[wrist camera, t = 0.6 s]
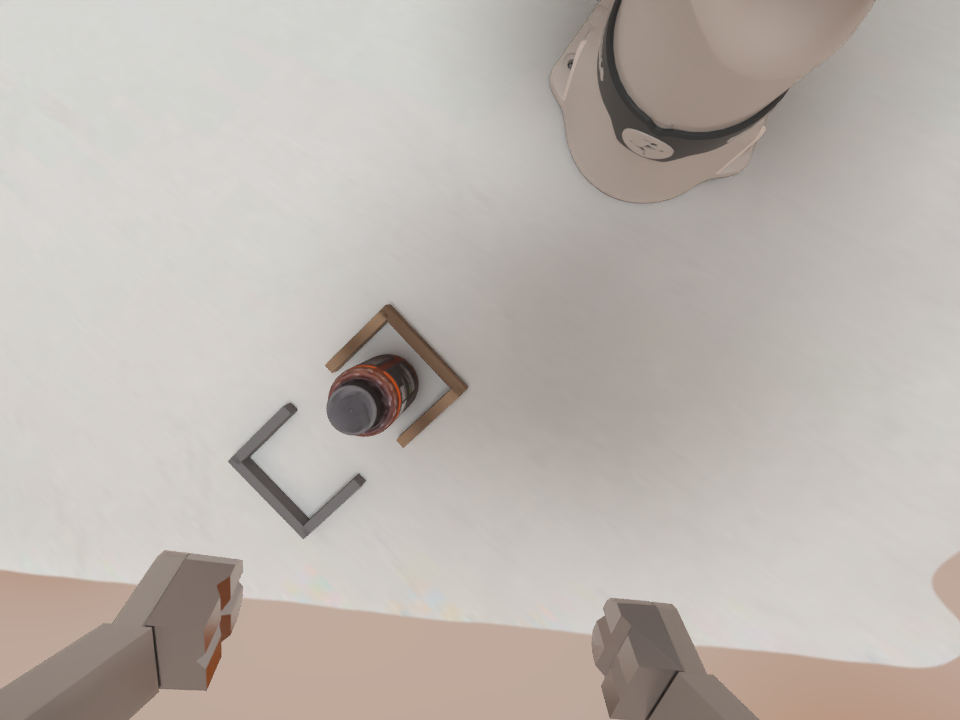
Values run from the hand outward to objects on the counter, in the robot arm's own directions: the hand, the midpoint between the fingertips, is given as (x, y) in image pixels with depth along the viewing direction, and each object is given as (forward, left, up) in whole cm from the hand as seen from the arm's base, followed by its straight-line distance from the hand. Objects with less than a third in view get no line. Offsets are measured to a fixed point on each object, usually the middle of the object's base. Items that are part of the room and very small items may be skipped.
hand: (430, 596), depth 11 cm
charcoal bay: (+19, -14, -37) cm, 44 cm away
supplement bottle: (+7, -9, -37) cm, 39 cm away
